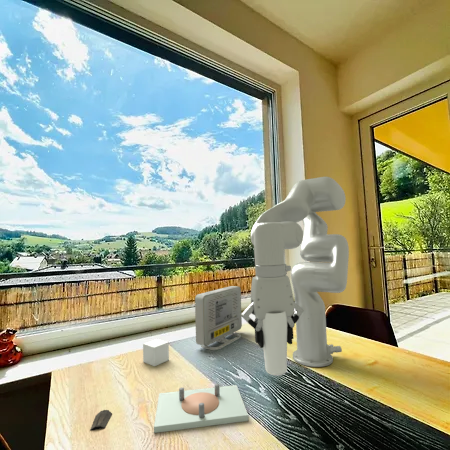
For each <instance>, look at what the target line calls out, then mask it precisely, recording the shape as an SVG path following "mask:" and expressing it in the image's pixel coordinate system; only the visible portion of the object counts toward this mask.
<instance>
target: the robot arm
mask: <svg viewBox="0 0 450 450" xmlns="http://www.w3.org/2000/svg"><path fill="white" fill-rule="evenodd" d="M346 200H347V199H346V194H345V191H344V189H343V188H342V186H341V185H340V184H339V183H338V182H337V181H336V180H335V179H334V178H332V177H330V176H320V177H315V178H308V179H302V180H299V181H297V182H295V184H294V185H293V186H292V187H291V189H290V191H289V193H288V194H287V196H286V197H285V199H284V200H282V201H281V202H279V203H277V204H275V205H273V206H272V207H270V208H269V209H267V210H266V211H264V212H262V213H261V214H260V216H258V218H257V219H256V220H255V222H254V224H253V226H252V228H251V232H250V242H251V244H252V245H253V247H254V248H253V250H254V251H253V253H254V270H255V271H254V272H255V276H253V277H252V278H251V287H250V289H251V290H250V304H249V305H248V306H247V308H245V309H244V310H243V312H241V316H242V319H244V321H246V323H247V324H248V325H249V326H250V327H252V328H253V329H254V341H255V343H256V344H257V345H258V346H259V348H261V349H263V347H264V345H263V331H262V330H261V326H262V324H263V320H264V319H265V316H266V313H281V312H284V311H285V312H286V317H287V326H288V329H287V344H289V345H293V340H294V328H295V330H296V350H294V351H293V352H292V359H293V360H294V361H295V362H296V363H298V364H300V365H303V366H306V367H312V368H321V367H328V366H330V365H331V364H333V362H334V358H333V354H334V353H337V354H338V353H342V352H343V351H342V347H341V346H340V345H337V346H336V345H335V346H334V344H332V343H331V344H328V338H327V337H328V336H327V318H326V317H327V316H326V315H327V314H326V306H325V302H324V300H323V298H322V297H321V296H320V294H319V293H333V294H339V293H343V292H344V291H345V290H346V288H347V285H348V274H349V273H348V271H349V255H350V254H349V252H350V250H349V242H348V240H347V238H346V237H345V236H344V235H342V234H336V233H332V234H328V228H329V227H328V223H327V222H326V221H325V220H324V219H323V218H322V217H321V216H320V215H318V214H317V213H321V212H329V211H332V212H333V211H340V210H341V209H343V208H344V207H345V204H346ZM301 221H302V225H303V229H302V227H301V225H300V224H299V222H301ZM299 246H300V247H299ZM298 247H299V248H300V249H299V255H300V257H301V259H302V260H304V261H300V262H297V263H295V264H294V265H293V266H292V267H291V265H288V264H287V263H286V252H285V250H293V249H296V248H298ZM288 272H290V277H289V275H288ZM290 279H291V281H290ZM291 283H292V284H291ZM293 294H294V296H293ZM251 314H252V315H254V317H255V318H254V319H252V317H250V315H251Z"/></svg>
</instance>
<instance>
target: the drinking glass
mask: <svg viewBox="0 0 450 450" xmlns="http://www.w3.org/2000/svg"><path fill="white" fill-rule="evenodd" d="M287 329H288V326H287V317H286V312H285V311H284V312H281V313H266V316H265V319H264V320H263V324H262V326H261V330H262V331H263V345H264V347H263V348H262V349H263V358H264V369H265V372H266V373H268V374H269V375H271V376H283V375H284V374H286V373H287V372H288V363H287V361H288V342H287Z"/></svg>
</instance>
